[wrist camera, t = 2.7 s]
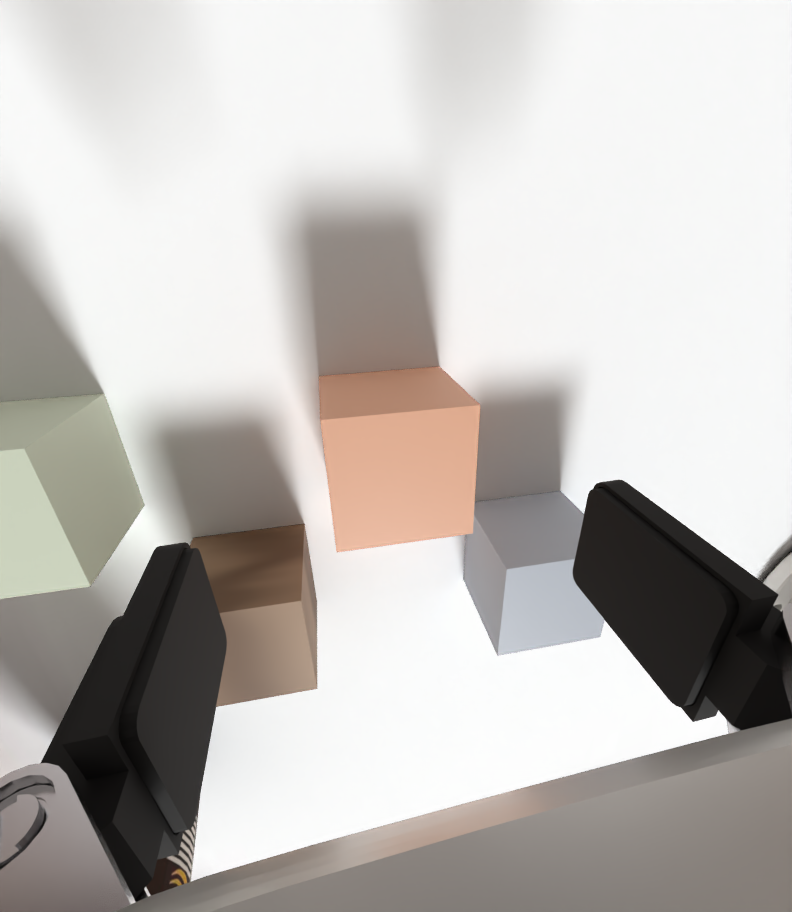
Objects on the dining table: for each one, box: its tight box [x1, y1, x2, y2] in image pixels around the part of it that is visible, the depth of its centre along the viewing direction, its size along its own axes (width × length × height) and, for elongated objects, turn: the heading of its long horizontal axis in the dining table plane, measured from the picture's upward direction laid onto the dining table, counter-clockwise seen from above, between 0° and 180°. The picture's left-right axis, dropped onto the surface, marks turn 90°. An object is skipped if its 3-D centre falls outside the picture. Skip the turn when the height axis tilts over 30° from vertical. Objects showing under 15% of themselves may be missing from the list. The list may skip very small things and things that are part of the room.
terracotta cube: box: [319, 366, 480, 552], centre depth 16 cm, size 5×5×5 cm
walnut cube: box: [190, 524, 317, 707], centre depth 18 cm, size 5×5×5 cm
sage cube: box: [0, 394, 144, 599], centre depth 14 cm, size 5×5×5 cm
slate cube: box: [463, 491, 604, 655], centre depth 20 cm, size 5×5×5 cm
